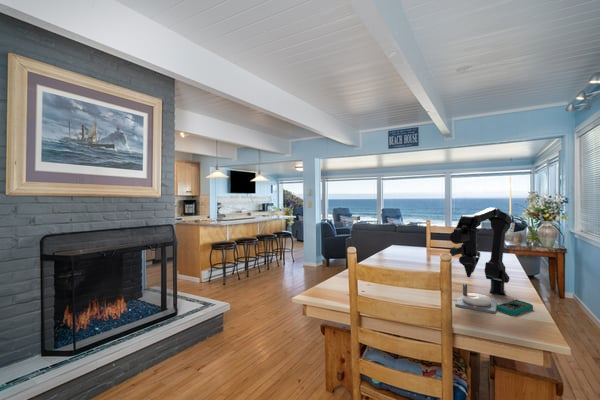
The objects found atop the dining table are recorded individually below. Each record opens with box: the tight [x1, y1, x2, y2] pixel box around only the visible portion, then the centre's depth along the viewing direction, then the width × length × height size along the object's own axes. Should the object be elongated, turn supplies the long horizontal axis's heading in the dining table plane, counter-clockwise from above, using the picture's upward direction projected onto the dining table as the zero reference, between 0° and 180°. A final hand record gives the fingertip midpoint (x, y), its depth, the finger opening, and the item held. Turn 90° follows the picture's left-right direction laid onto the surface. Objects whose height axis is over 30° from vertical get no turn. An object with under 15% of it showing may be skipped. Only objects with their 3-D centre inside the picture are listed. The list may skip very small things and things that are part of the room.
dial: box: [462, 283, 492, 306], centre depth 132 cm, size 11×11×7 cm
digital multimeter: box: [496, 299, 534, 317], centre depth 126 cm, size 7×15×3 cm, turn 116°
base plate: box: [454, 293, 498, 315], centre depth 132 cm, size 16×15×1 cm
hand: (470, 274), depth 138 cm, fingers open, 9 cm apart
